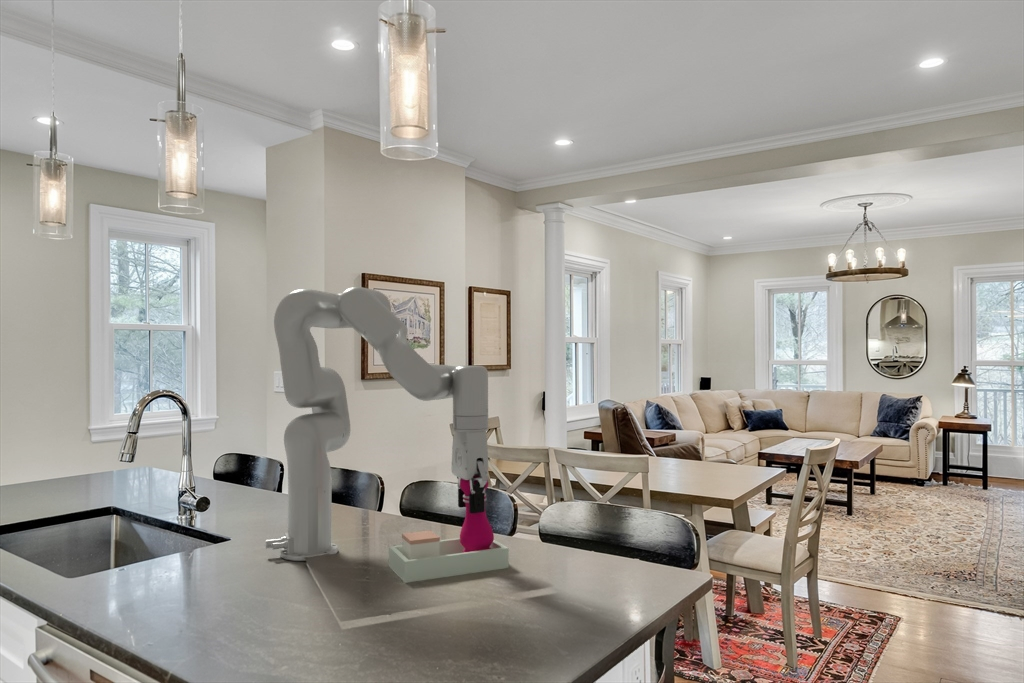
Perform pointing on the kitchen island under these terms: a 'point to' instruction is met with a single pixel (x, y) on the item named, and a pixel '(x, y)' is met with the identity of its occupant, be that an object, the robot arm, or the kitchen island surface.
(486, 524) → the pepper mill
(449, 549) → the tray
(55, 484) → the kitchen island surface
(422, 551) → the box
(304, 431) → the robot arm
